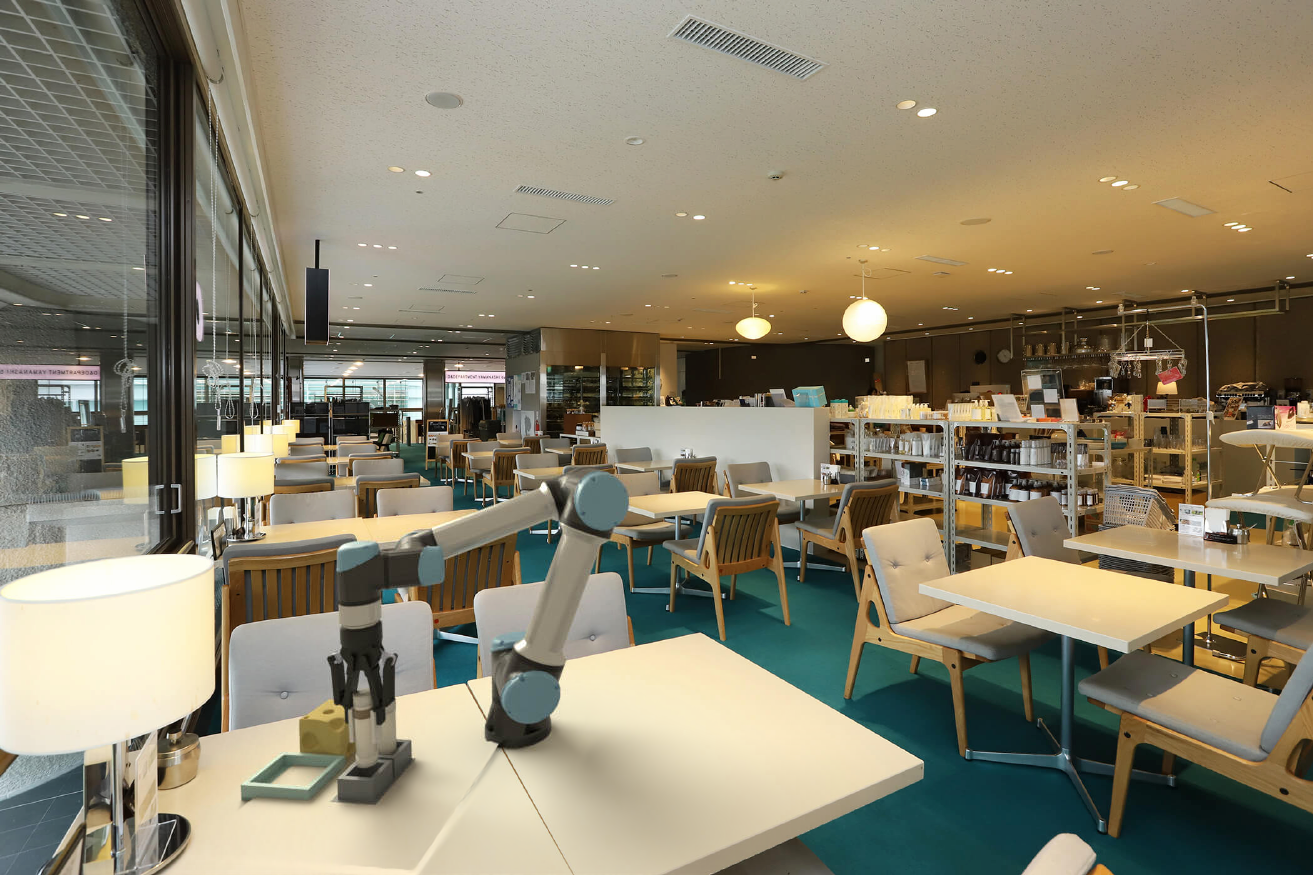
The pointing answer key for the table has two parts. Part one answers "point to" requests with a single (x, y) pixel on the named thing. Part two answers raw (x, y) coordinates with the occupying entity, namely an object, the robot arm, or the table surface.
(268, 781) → the pale green rectangular frame
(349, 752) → the cheese
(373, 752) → the banded white cylinder
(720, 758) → the table surface
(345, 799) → the fuse block
